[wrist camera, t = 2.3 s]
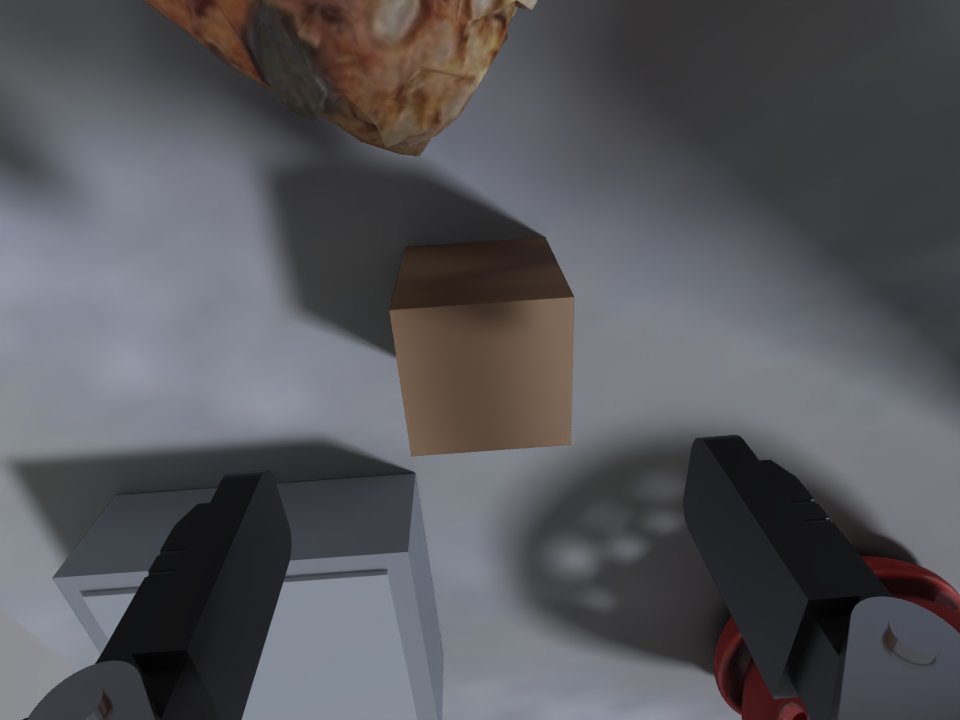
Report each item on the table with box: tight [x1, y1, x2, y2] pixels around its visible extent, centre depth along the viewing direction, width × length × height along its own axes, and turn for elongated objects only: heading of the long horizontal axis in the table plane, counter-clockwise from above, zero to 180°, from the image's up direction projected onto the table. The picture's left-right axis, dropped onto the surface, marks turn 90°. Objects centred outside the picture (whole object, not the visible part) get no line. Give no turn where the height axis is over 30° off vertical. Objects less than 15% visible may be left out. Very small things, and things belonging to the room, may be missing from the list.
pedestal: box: [52, 473, 444, 720], centre depth 23 cm, size 12×12×4 cm
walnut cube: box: [389, 237, 574, 456], centre depth 17 cm, size 4×4×5 cm
